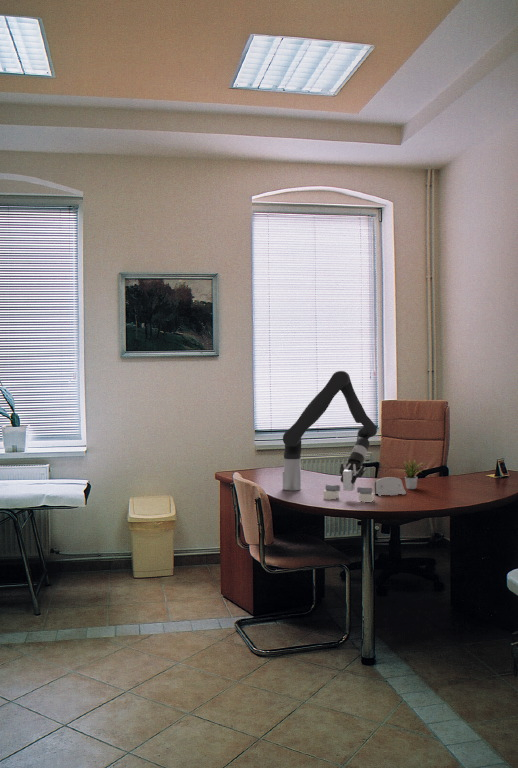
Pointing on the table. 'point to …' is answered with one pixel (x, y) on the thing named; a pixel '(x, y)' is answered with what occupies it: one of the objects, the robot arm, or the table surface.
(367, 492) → the white and grey block
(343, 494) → the table surface
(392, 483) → the grey rounded block
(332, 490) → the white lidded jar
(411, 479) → the house plant
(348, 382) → the robot arm
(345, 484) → the coupler
